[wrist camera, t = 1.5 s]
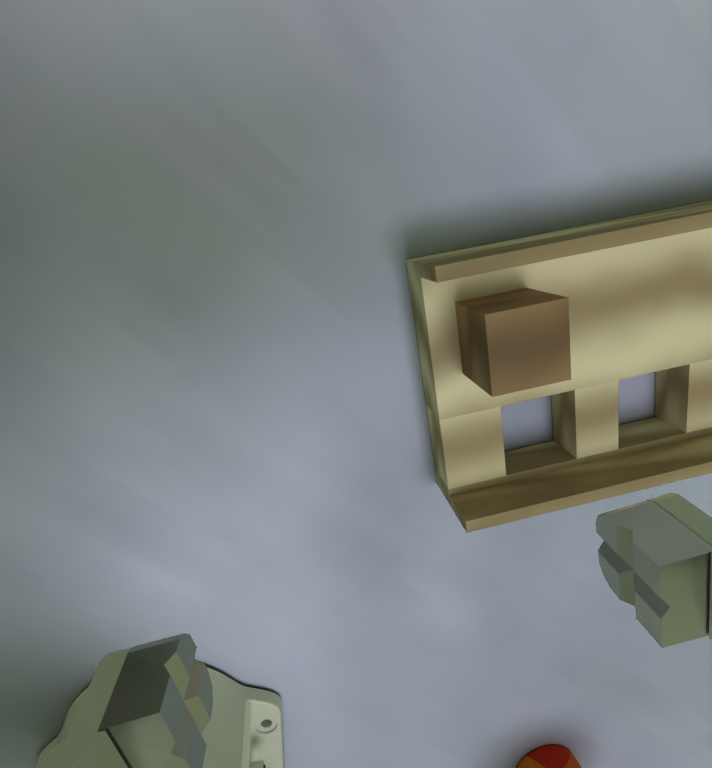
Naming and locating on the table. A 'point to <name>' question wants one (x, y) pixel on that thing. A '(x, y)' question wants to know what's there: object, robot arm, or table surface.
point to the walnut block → (514, 340)
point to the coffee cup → (549, 758)
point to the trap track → (576, 364)
